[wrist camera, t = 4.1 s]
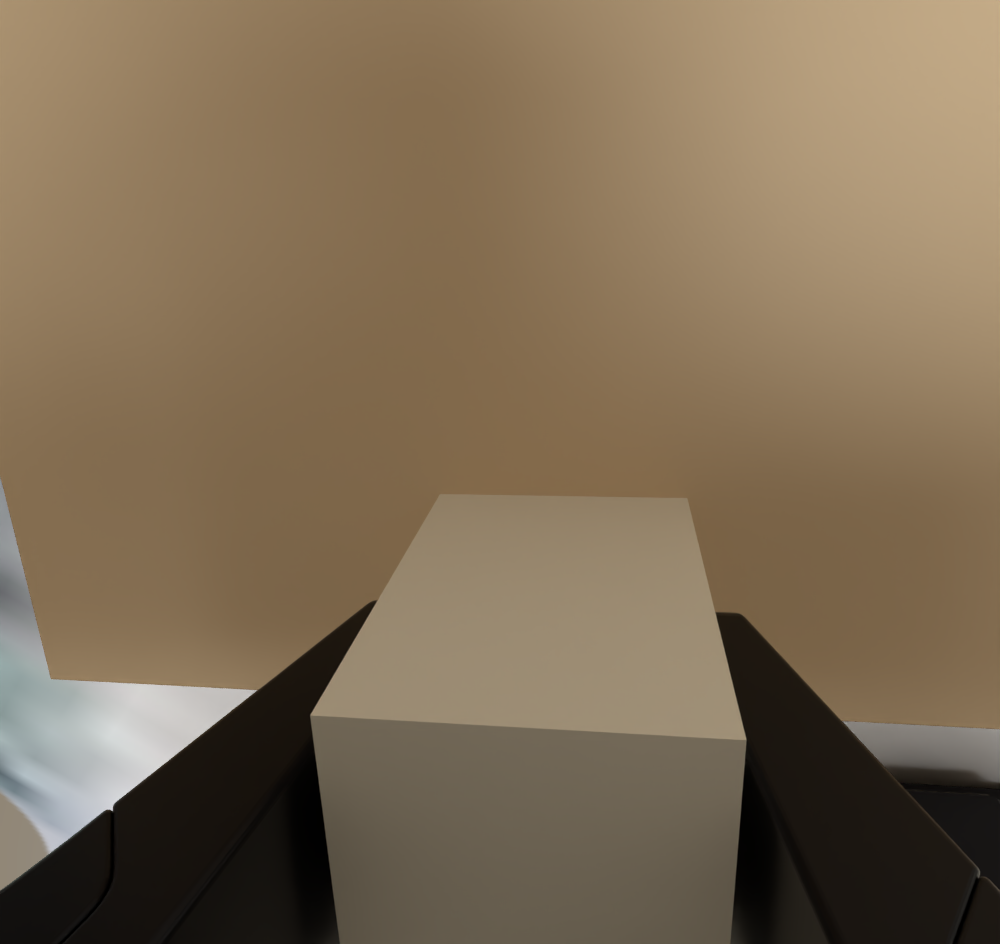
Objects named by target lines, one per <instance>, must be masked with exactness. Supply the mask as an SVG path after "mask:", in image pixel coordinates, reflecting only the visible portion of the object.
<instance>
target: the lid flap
mask: <svg viewBox="0 0 1000 944" xmlns="http://www.w3.org/2000/svg"><path fill="white" fill-rule="evenodd" d="M0 477H1V481H2V485H3V489H4V493H5V497H6V501H7V505H8V509H9V513H10V517H11V521H12V525H13V529H14V533H15V537H16V541H17V545H18V549H19V553H20V557H21V561H22V565H23V569H24V573H25V577H26V581H27V585H28V589H29V593H30V597H31V601H32V605H33V609H34V613H35V617H36V621H37V625H38V629H39V633H40V637H41V641H42V645H43V649H44V653H45V657H46V661H47V665H48V669H49V673H50V677H51V679H60V680H79V681H98V682H117V683H136V684H155V685H174V686H193V687H212V688H231V689H250V690H259V689H260V688H261V687H262V686H264V685H265V684H266V683H268V682H269V681H270V680H271V679H273V678H274V677H275V676H276V675H278V674H279V673H280V672H281V671H283V670H284V669H285V668H287V667H288V666H289V665H290V664H292V663H293V662H294V661H295V660H297V659H298V658H299V657H300V656H302V655H303V654H304V653H306V652H307V651H308V650H309V649H311V648H312V647H313V646H314V645H316V644H317V643H318V642H319V641H321V640H322V639H323V638H324V637H326V636H327V635H328V634H330V633H331V632H332V631H333V630H335V629H336V628H337V627H338V626H340V625H341V624H342V623H343V622H345V621H346V620H347V619H349V618H350V617H351V616H352V615H354V614H355V613H356V612H357V611H359V610H360V609H361V608H362V607H364V606H365V605H366V604H368V603H369V602H371V601H374V600H378V601H377V602H376V604H375V606H374V607H373V609H372V611H371V613H370V614H369V616H368V618H367V619H366V621H365V623H364V624H363V626H362V628H361V630H360V631H359V633H358V635H357V636H356V638H355V640H354V642H353V643H352V645H351V647H350V648H349V650H348V652H347V653H346V655H345V657H344V659H343V660H342V662H341V664H340V665H339V667H338V669H337V670H336V672H335V674H334V676H333V677H332V679H331V681H330V682H329V684H328V686H327V688H326V689H325V691H324V693H323V694H322V696H321V698H320V699H319V701H318V703H317V705H316V706H315V708H314V710H313V711H312V713H311V715H310V718H311V726H312V733H313V741H314V749H315V756H316V764H317V772H318V780H319V787H320V795H321V803H322V810H323V818H324V826H325V833H326V841H327V849H328V856H329V864H330V872H331V880H332V887H333V895H334V903H335V910H336V918H337V926H338V933H339V941H340V944H730V941H731V928H732V916H733V903H734V891H735V878H736V866H737V853H738V841H739V828H740V816H741V803H742V791H743V778H744V766H745V753H746V741H747V740H746V736H745V732H744V728H743V724H742V720H741V716H740V712H739V707H738V703H737V699H736V695H735V691H734V687H733V683H732V679H731V675H730V671H729V667H728V662H727V658H726V654H725V650H724V646H723V642H722V638H721V634H720V630H719V626H718V622H717V617H716V613H715V612H734V613H740V614H741V615H743V616H744V617H745V618H746V619H747V620H748V621H749V622H750V623H751V624H752V625H753V626H754V627H755V628H756V629H757V630H758V632H759V633H760V634H761V635H762V636H763V637H764V638H765V639H766V640H767V641H768V642H769V643H770V644H771V646H772V647H773V648H774V649H775V650H776V651H777V652H778V653H779V654H780V655H781V656H782V657H783V658H784V659H785V661H786V662H787V663H788V664H789V665H790V666H791V667H792V668H793V669H794V670H795V671H796V672H797V673H798V675H799V676H800V677H801V678H802V679H803V680H804V681H805V682H806V683H807V684H808V685H809V686H810V687H811V689H812V690H813V691H814V692H815V693H816V694H817V695H818V696H819V697H820V698H821V699H822V700H823V701H824V702H825V704H826V705H827V706H828V707H829V708H830V709H831V710H832V711H833V712H834V713H835V714H836V715H837V716H838V718H839V719H840V720H841V721H855V722H874V723H893V724H912V725H930V726H949V727H968V728H987V729H1000V0H0Z"/></svg>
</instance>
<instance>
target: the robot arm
mask: <svg viewBox="0 0 1000 944" xmlns="http://www.w3.org/2000/svg"><path fill="white" fill-rule="evenodd" d="M377 601H378V600H374V601H371V602H369V603H368V604H366V605H365V606H364V607H362V608H361V609H360V610H359V611H357V612H356V613H355V614H354V615H352V616H351V617H350V618H349V619H347V620H346V621H345V622H343V623H342V624H341V625H340V626H338V627H337V628H336V629H335V630H333V631H332V632H331V633H330V634H328V635H327V636H326V637H324V638H323V639H322V640H321V641H319V642H318V643H317V644H316V645H314V646H313V647H312V648H311V649H309V650H308V651H307V652H306V653H304V654H303V655H302V656H300V657H299V658H298V659H297V660H295V661H294V662H293V663H292V664H290V665H289V666H288V667H287V668H285V669H284V670H283V671H281V672H280V673H279V674H278V675H276V676H275V677H274V678H273V679H271V680H270V681H269V682H268V683H266V684H265V685H264V686H262V687H261V688H260V689H259V690H257V691H256V692H255V693H254V694H252V695H251V696H250V697H249V698H247V699H246V700H245V701H243V702H242V703H241V704H240V705H238V706H237V707H236V708H235V709H233V710H232V711H231V712H230V713H228V714H227V715H226V716H224V717H223V718H222V719H221V720H219V721H218V722H217V723H216V724H214V725H213V726H212V727H211V728H209V729H208V730H207V731H205V732H204V733H203V734H202V735H200V736H199V737H198V738H197V739H195V740H194V741H193V742H192V743H190V744H189V745H188V746H186V747H185V748H184V749H183V750H181V751H180V752H179V753H178V754H176V755H175V756H174V757H173V758H171V759H170V760H169V761H168V762H166V763H165V764H164V765H162V766H161V767H160V768H159V769H157V770H156V771H155V772H154V773H152V774H151V775H150V776H149V777H147V778H146V779H145V780H143V781H142V782H141V783H140V784H138V785H137V786H136V787H135V788H133V789H132V790H131V791H130V792H128V793H127V794H126V795H124V796H123V797H122V798H121V799H119V800H118V801H117V802H116V803H115V804H114V806H113V811H111V810H105V811H104V812H102V813H101V814H100V815H99V816H97V817H96V818H95V819H94V820H92V821H91V822H90V823H89V824H87V825H86V826H85V827H83V828H82V829H81V830H80V831H78V832H77V833H76V834H75V835H73V836H72V837H71V838H70V839H68V840H67V841H66V842H64V843H63V844H62V845H60V846H59V847H58V848H56V849H55V850H54V851H52V852H51V853H50V854H48V855H47V856H46V857H45V858H43V859H42V860H41V861H39V862H38V863H37V864H35V865H34V866H33V867H31V868H30V869H29V870H28V871H26V872H25V873H23V874H22V875H21V876H20V877H18V878H17V879H16V880H14V881H13V882H12V883H10V884H9V885H7V886H6V887H5V888H3V889H2V890H0V944H340V941H339V933H338V926H337V918H336V910H335V903H334V895H333V887H332V880H331V872H330V864H329V856H328V849H327V841H326V833H325V826H324V818H323V810H322V803H321V795H320V787H319V780H318V772H317V764H316V756H315V749H314V741H313V733H312V726H311V718H310V715H311V713H312V711H313V710H314V708H315V706H316V705H317V703H318V701H319V699H320V698H321V696H322V694H323V693H324V691H325V689H326V688H327V686H328V684H329V682H330V681H331V679H332V677H333V676H334V674H335V672H336V670H337V669H338V667H339V665H340V664H341V662H342V660H343V659H344V657H345V655H346V653H347V652H348V650H349V648H350V647H351V645H352V643H353V642H354V640H355V638H356V636H357V635H358V633H359V631H360V630H361V628H362V626H363V624H364V623H365V621H366V619H367V618H368V616H369V614H370V613H371V611H372V609H373V607H374V606H375V604H376V602H377ZM715 613H716V617H717V622H718V626H719V630H720V634H721V638H722V642H723V646H724V650H725V654H726V658H727V662H728V667H729V671H730V675H731V679H732V683H733V687H734V691H735V695H736V699H737V703H738V707H739V712H740V716H741V720H742V724H743V728H744V732H745V736H746V740H747V741H746V753H745V766H744V778H743V791H742V803H741V816H740V828H739V841H738V853H737V866H736V878H735V891H734V903H733V916H732V928H731V941H730V944H1000V789H985V788H969V787H953V786H937V785H921V784H905V783H899V782H898V781H897V780H896V779H895V778H894V777H893V776H892V775H891V773H890V772H889V771H888V770H887V769H886V768H885V767H884V766H883V765H882V764H881V763H880V762H879V761H878V759H877V758H876V757H875V756H874V755H873V754H872V753H871V752H870V751H869V750H868V749H867V748H866V747H865V746H864V744H863V743H862V742H861V741H860V740H859V739H858V738H857V737H856V736H855V735H854V734H853V733H852V732H851V730H850V729H849V728H848V727H847V726H846V725H845V724H844V723H843V722H842V721H841V720H840V719H839V718H838V716H837V715H836V714H835V713H834V712H833V711H832V710H831V709H830V708H829V707H828V706H827V705H826V704H825V702H824V701H823V700H822V699H821V698H820V697H819V696H818V695H817V694H816V693H815V692H814V691H813V690H812V689H811V687H810V686H809V685H808V684H807V683H806V682H805V681H804V680H803V679H802V678H801V677H800V676H799V675H798V673H797V672H796V671H795V670H794V669H793V668H792V667H791V666H790V665H789V664H788V663H787V662H786V661H785V659H784V658H783V657H782V656H781V655H780V654H779V653H778V652H777V651H776V650H775V649H774V648H773V647H772V646H771V644H770V643H769V642H768V641H767V640H766V639H765V638H764V637H763V636H762V635H761V634H760V633H759V632H758V630H757V629H756V628H755V627H754V626H753V625H752V624H751V623H750V622H749V621H748V620H747V619H746V618H745V617H744V616H743V615H741V614H740V613H734V612H715Z"/></svg>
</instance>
